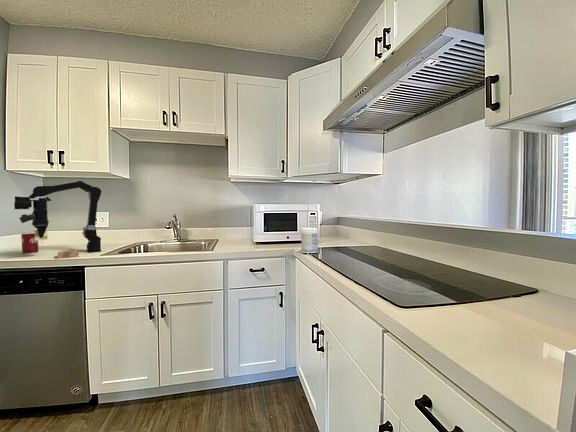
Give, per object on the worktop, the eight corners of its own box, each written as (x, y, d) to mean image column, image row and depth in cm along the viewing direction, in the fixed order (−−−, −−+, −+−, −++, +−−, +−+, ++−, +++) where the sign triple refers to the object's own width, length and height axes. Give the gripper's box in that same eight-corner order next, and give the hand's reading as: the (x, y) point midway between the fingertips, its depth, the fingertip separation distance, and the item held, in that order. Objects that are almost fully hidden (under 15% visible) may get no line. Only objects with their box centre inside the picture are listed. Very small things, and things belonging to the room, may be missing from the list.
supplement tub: (315, 255, 156) (315, 229, 156) (299, 254, 159) (299, 228, 159) (319, 252, 165) (319, 227, 165) (303, 251, 168) (303, 227, 168)
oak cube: (47, 238, 157) (47, 229, 157) (47, 239, 153) (46, 230, 153) (35, 239, 154) (35, 230, 154) (35, 240, 150) (34, 230, 150)
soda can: (19, 254, 161) (18, 234, 161) (27, 252, 168) (26, 232, 168) (34, 253, 163) (33, 233, 163) (41, 251, 170) (40, 232, 170)
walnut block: (77, 255, 161) (77, 250, 161) (78, 257, 154) (78, 252, 154) (57, 257, 155) (57, 251, 155) (57, 259, 148) (57, 254, 148)
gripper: (21, 209, 155) (22, 236, 156) (18, 209, 141) (19, 240, 141) (48, 209, 162) (49, 235, 163) (47, 209, 148) (48, 238, 149)
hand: (41, 237), depth 154 cm, fingers closed on oak cube, 5 cm apart
